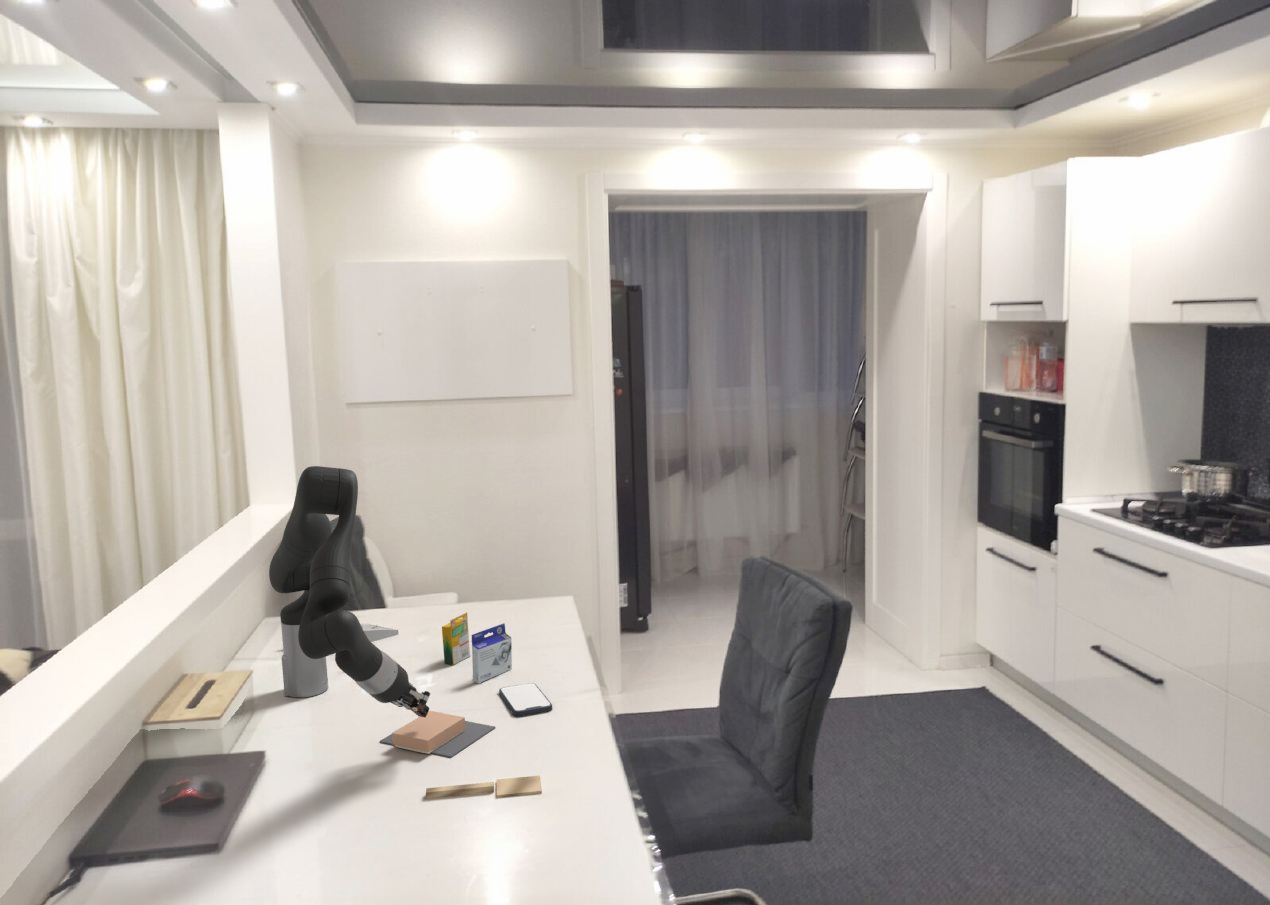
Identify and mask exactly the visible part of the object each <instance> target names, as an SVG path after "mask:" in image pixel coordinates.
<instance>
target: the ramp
mask: <svg viewBox="0 0 1270 905" xmlns="http://www.w3.org/2000/svg"><path fill="white" fill-rule="evenodd" d="M360 625H361V627H362V629H363V631H364V633H365V634H366V636H367V638H368V639H369V641H370V642H371V643H373V642H377V641H380V640H384V639H387V638H391V637H394V636H398V635H399V629H396V628H395V629H394V628H390V627H385V626H381V625H380V626H379V625H378V624H376V625H375V624H371V623H360Z"/></svg>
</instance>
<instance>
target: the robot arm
mask: <svg viewBox="0 0 1270 905" xmlns="http://www.w3.org/2000/svg"><path fill="white" fill-rule="evenodd" d="M301 472H302V473H301V474H300V477H299V479H298V481H297V482H298V483H297V487H296V492H295V497H294V503H293V506H292V509H291V512H290V515H289V518H288V520H287V523H286V525H285V528H284V531H283V534H282V539H281V541H280V544H279V547H278V548H277V549H276V550H275V551H276V552H275V553H274V554H273V555H272V558H271V560H270V564H269V568H268V569H269V570H268V576H269V577H268V578H269V581H270V584H271V587H272V588H273V590H274V591H275V592H276V593H278V594H291V593H298V592H303V593H302V594H301V596H299V597H298V598H297V599H295V600H294V601H293V602H290V603H288V604H287V605H285V606H284V607H283V608H281V610H280V614H279V615H280V625H281V627H280V628H281V639H282V650H283V654H282V655H281V667H282V681H283V682H282V683H283V690H284V691H283V693H284V694H283V695H284V697H291V698H310V697H314V696H317V695H321V694H322V693H324V692H326V691H328V689H329V678H328V677H329V676H328V667H327V666H328V665H327V657H328V656H333V655H334V661H335V664H336V666H337V667H338V668H339V670H341V671H342V672H343V673H344V674H346V675H347V676H348V677H349V678H350V679H352V680H353V681H354V682H355V683H356V685H358V686H359V687H360V688H361V689H362V690H363V691H365V693H367V694H368V695H370V696H371V697H372V698H374V699H375V700H376V701H377V702H379V703H382V704H389V703H390V704H393V705H395V706H397V707H398V708H405V709H406V710H408V711H409V710H410V711H411V712H413V713H414V714H415V715H416V716H418V717H426V716H427V714H428V712H429V711H430V707H429V706H428V705H427V703H428V701H429V698H430V696H431V692H429V691H426V690H425V691H421V692H419V691H417V688H416V686H413V684H412V683H411V682H410V681H409V674H408V672H407V670H406V669H405V668H403V666H401V665H400V664H399V663H398V662H397V661H396V660H394V659H393V658H392V657H391V656H390V655H389V654H388V653H386V652H384V651H383V650H381V649H380V648H378V647H377V646H376V645H375V644H374V643H373V642H370V641H369V639H368V638H367V636H366V634H365V633H364V631H363V629H362V627H361V625H360V624H361V623H360V620H359V619H358V617H357V616H356V615H355V614H354V613H353V612H352V611H349V610H345V609H341V608H344V606H346V605H347V604H348V602H349V601H350V598H351V597H350V596H351V551H352V545H353V539H354V533H355V532H354V531H355V525H356V516H357V505H358V498H359V497H358V496H359V495H358V494H359V483H358V478H357V474H356V473H355V472H354V470H351V469H348V468H340V467H339V468H338V467H329V466H322V465H321V466H320V465H317V466H316V465H314V466H313V465H311V466H307V467H306V468H305V469H304V470H303V471H301ZM328 515H331V516H332V515H333V516H338V518H337V519H338V520H337V524H336V526H335V527H334V529H332V528H333V527H332V523H331V520H330V519H329V517H328Z"/></svg>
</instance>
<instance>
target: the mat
mask: <svg viewBox="0 0 1270 905" xmlns="http://www.w3.org/2000/svg"><path fill="white" fill-rule="evenodd" d="M495 729H496V726H493V725H489V724H488V725H487V724H484V723H480V722H479V723H477V722H474V721H473V722H472V721H468V720H465V729H464V730H463V732H462V733H460V734H459V735H457V736H456V737H454V738H453V739H451V740H450V741H448V742H447V743H445V744H443V745H442V746H440V747H439V748H437V749H436V750H434V751H433V752H431V753H430V754H432V755H436V756H441V757H446V758H453V757H455V756H456V755H457V754H459V753H461V752H462V751H464V750H465V749H467V748H469V746H471V745H473V744H475V743H476V742H477V741H479V740H480V739H482V738H483V737H484V736H486V735H487V734H489V733H490V732H492V731H494V730H495ZM379 743H380V744H386V745H391V746H395V745H393V743H392V733H390V734H389V735H387V736H386V737H384V738H382V739H380V740H379Z"/></svg>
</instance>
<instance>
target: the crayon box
mask: <svg viewBox="0 0 1270 905" xmlns="http://www.w3.org/2000/svg"><path fill="white" fill-rule="evenodd" d="M468 619H469V618H468V612H465V613H463V614H461V615H458V616H456V617H455V618H452V619H451V620H449V621H450V622H449V623H447V624H445V625H442V626H441V632H442V634H441V635H442V646H443V660H444V661H443V662H444V664H445V665H448V666H455V665H457V664H458V663H460V662H462V661H464V660H465V659H467V658H469V657H471V649H470V635H469V621H468Z"/></svg>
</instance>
